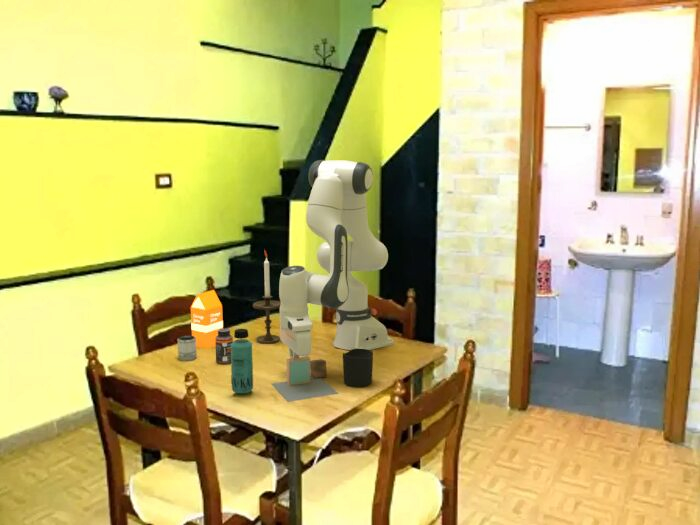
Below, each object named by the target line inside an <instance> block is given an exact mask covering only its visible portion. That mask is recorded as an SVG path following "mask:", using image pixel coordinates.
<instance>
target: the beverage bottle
mask: <svg viewBox="0 0 700 525" xmlns="http://www.w3.org/2000/svg"><path fill="white" fill-rule="evenodd" d="M233 333H234V334H233V335H234V336H233V338H235V340H233V343H232V344H231V363H230V368H231V369H230V373H231V377H230V378H231V383H230V384H231V390H232V392H233V393H236V394H246V393H249V392H251V391H253V388H254V374H253V373H254V367H253V366H254V363H253V343H252V342H251V341H250V340H249V339H246V338H248V337H249V330H248V329H247V328H237V329H235V330H234V332H233Z"/></svg>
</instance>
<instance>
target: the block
mask: <svg viewBox="0 0 700 525" xmlns="http://www.w3.org/2000/svg"><path fill="white" fill-rule="evenodd" d="M327 373H328V372H327V361H326V360H324V359H321V358H319V359H313V360H310V377H311V378H313V377H314V378H319V377H321V378H326V377H327V376H328V374H327Z"/></svg>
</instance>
